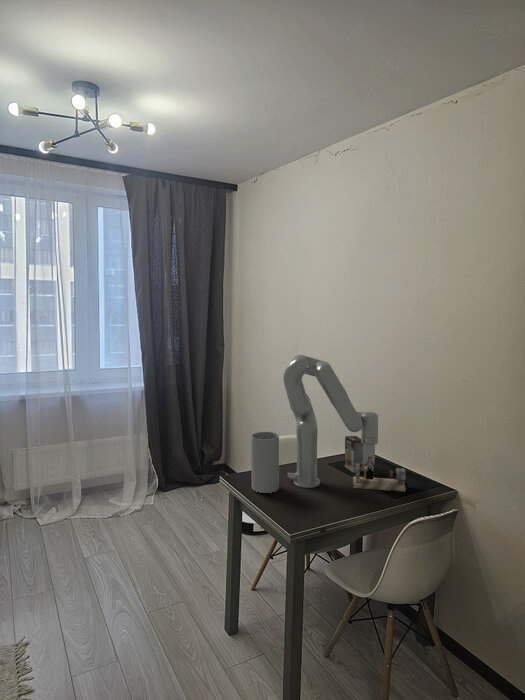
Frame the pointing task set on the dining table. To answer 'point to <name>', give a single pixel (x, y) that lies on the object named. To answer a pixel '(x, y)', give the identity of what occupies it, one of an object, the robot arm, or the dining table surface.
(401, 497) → the dining table surface
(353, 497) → the dining table surface
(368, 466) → the sleeve
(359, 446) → the coffee box
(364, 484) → the cord rig
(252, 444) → the cylinder vase
